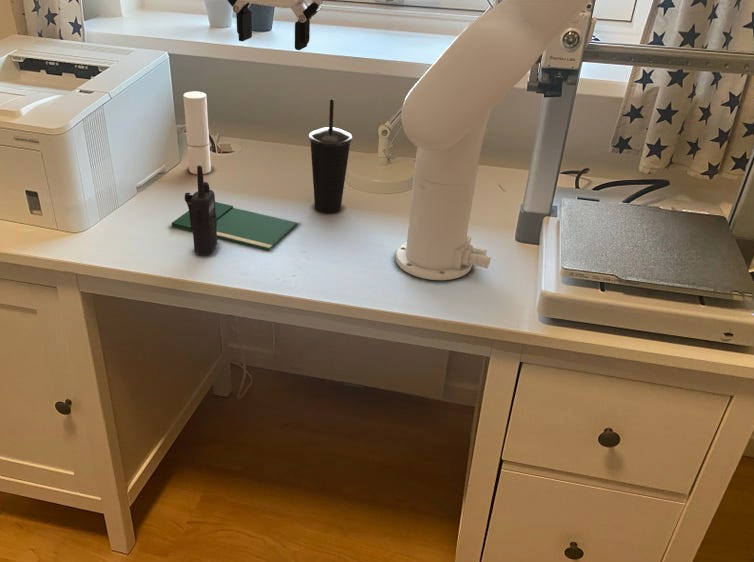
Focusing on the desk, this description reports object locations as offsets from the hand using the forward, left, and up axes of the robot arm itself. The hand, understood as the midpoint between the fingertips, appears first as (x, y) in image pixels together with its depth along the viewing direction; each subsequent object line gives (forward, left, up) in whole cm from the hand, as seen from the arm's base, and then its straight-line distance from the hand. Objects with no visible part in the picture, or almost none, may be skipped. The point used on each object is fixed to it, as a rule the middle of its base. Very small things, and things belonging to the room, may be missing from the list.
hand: (272, 43), depth 117 cm
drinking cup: (-6, -10, -31) cm, 33 cm away
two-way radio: (+6, +15, -31) cm, 34 cm away
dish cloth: (+6, +5, -30) cm, 31 cm away
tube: (+24, -14, -31) cm, 41 cm away
